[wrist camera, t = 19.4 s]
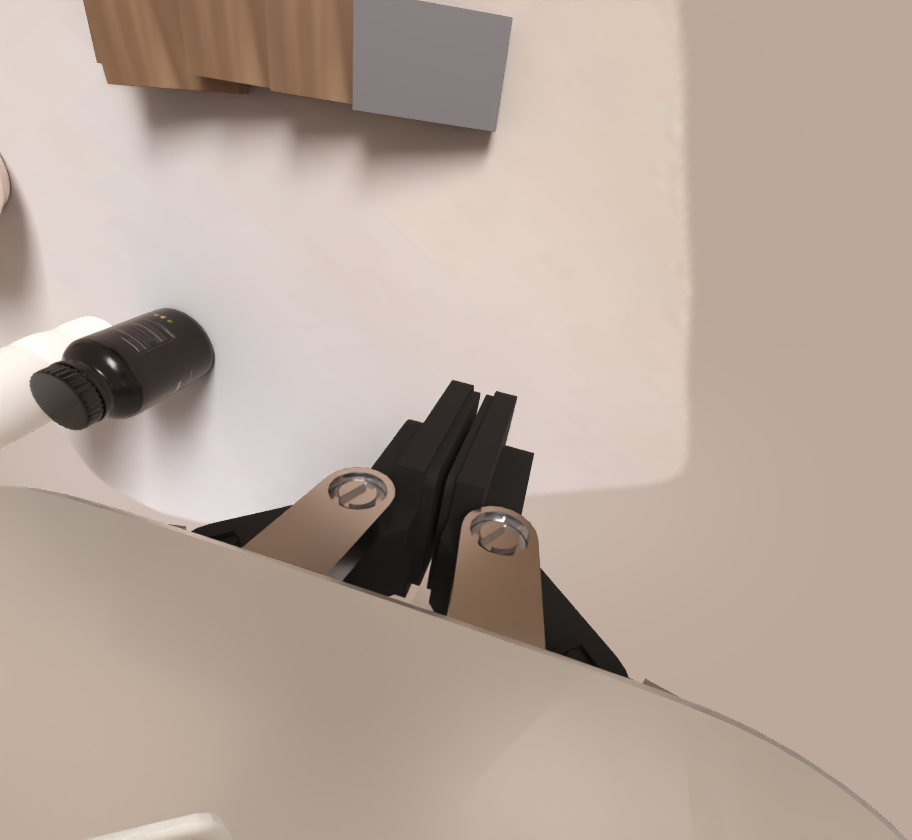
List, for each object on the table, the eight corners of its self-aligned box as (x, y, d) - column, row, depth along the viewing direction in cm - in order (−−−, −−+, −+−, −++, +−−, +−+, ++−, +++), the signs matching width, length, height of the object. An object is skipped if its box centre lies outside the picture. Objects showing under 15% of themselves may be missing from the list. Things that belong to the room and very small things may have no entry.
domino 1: (222, -14, 26) (76, -27, 26) (239, 93, 29) (107, 83, 29) (233, -8, 28) (95, -20, 27) (248, 94, 30) (122, 85, 30)
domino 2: (325, -14, 25) (172, -43, 25) (326, 97, 28) (188, 74, 27) (331, -8, 27) (186, -35, 26) (332, 98, 29) (200, 75, 29)
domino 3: (419, 0, 24) (262, -29, 24) (411, 113, 27) (270, 90, 26) (420, 6, 26) (271, -22, 25) (412, 113, 29) (278, 91, 28)
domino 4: (512, 17, 24) (353, -12, 23) (495, 131, 26) (352, 109, 26) (508, 22, 25) (358, -5, 24) (492, 130, 28) (356, 109, 27)
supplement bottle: (216, 386, 45) (105, 457, 35) (154, 359, 45) (26, 421, 35) (217, 322, 41) (91, 382, 31) (148, 293, 41) (3, 343, 31)
